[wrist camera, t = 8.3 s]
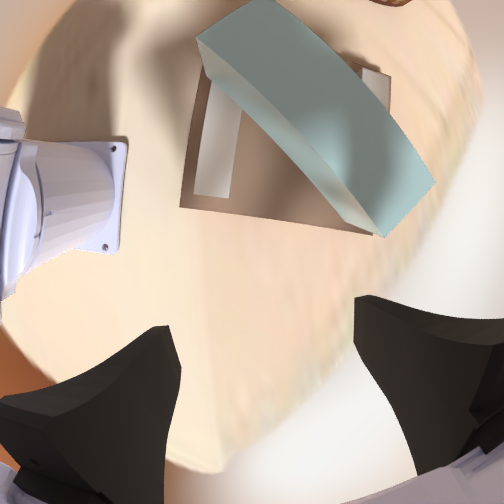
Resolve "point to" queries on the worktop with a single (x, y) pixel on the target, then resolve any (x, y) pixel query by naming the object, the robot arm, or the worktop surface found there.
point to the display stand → (255, 162)
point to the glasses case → (316, 113)
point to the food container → (392, 2)
